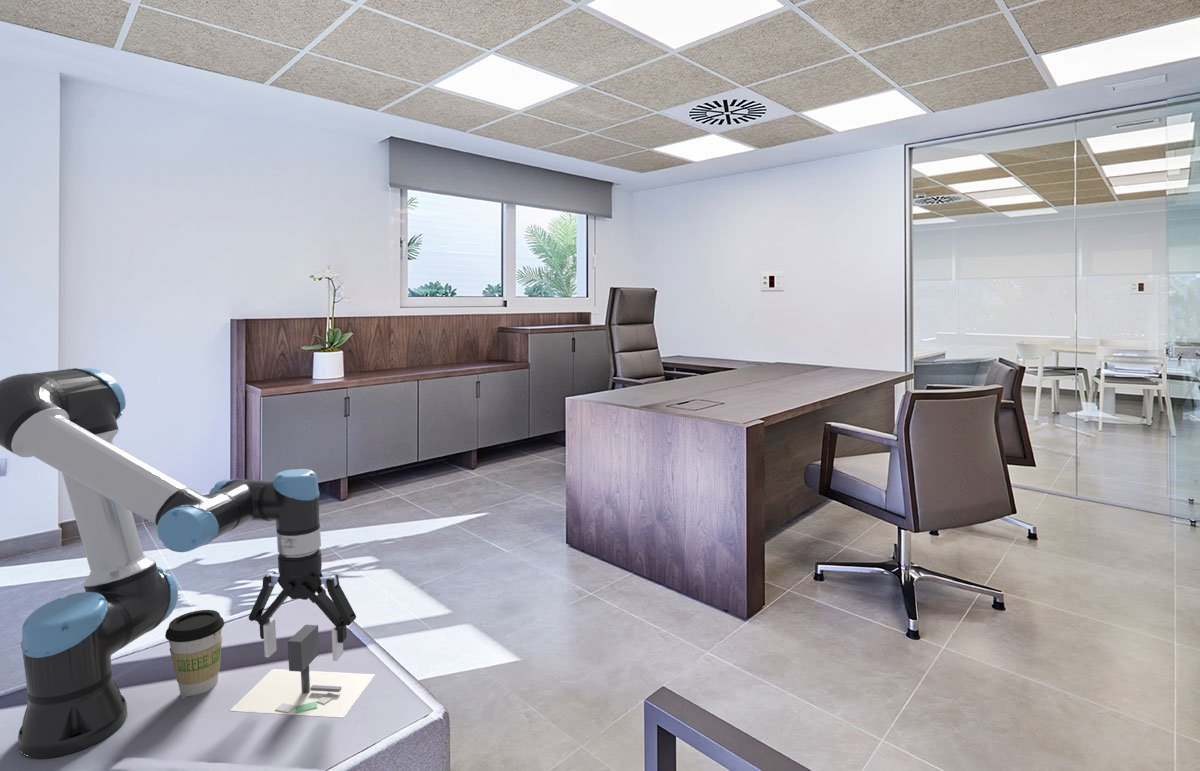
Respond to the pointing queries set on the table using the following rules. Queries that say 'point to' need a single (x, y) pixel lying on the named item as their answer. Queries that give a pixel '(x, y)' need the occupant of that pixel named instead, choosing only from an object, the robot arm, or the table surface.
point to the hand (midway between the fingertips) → (304, 655)
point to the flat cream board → (304, 694)
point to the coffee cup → (196, 650)
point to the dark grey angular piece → (306, 657)
